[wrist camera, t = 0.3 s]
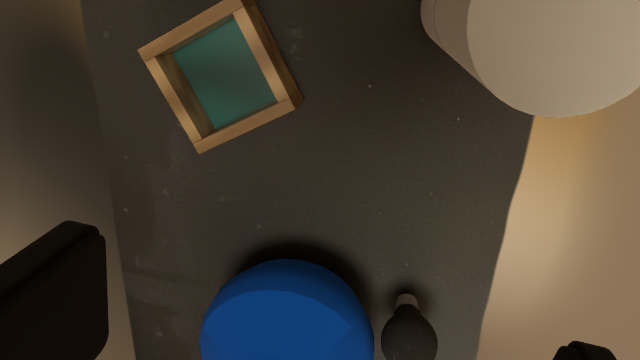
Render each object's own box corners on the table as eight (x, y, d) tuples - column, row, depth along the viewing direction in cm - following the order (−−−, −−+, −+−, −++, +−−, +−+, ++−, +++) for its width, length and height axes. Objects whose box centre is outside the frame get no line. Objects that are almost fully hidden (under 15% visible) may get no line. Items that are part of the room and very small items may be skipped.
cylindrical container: (426, -40, 37) (487, -108, 14) (513, -37, 36) (730, -103, 13) (415, 47, 40) (451, 110, 17) (496, 52, 39) (650, 125, 16)
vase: (242, 357, 57) (178, 513, 40) (213, 236, 51) (121, 360, 33) (381, 359, 54) (378, 530, 37) (369, 230, 47) (359, 363, 30)
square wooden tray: (158, 46, 43) (136, 50, 39) (250, -7, 40) (236, -8, 36) (214, 142, 46) (198, 154, 42) (303, 100, 43) (295, 109, 39)
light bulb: (384, 318, 52) (383, 386, 42) (379, 278, 50) (377, 341, 40) (432, 317, 51) (442, 386, 41) (429, 276, 49) (439, 340, 39)
